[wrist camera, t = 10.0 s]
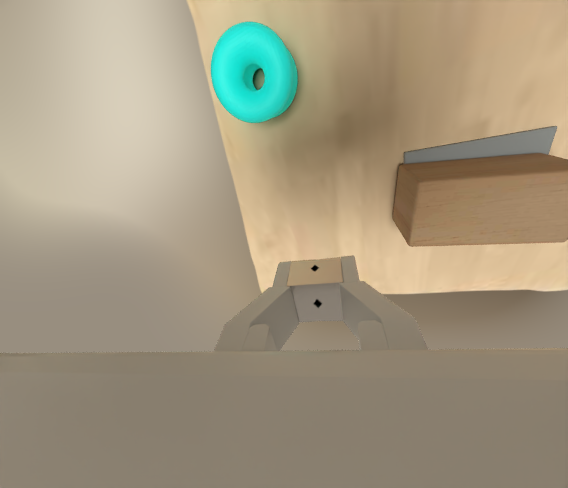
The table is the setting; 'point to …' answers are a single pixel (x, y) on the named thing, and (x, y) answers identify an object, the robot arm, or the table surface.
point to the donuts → (241, 67)
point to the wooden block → (483, 201)
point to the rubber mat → (488, 147)
